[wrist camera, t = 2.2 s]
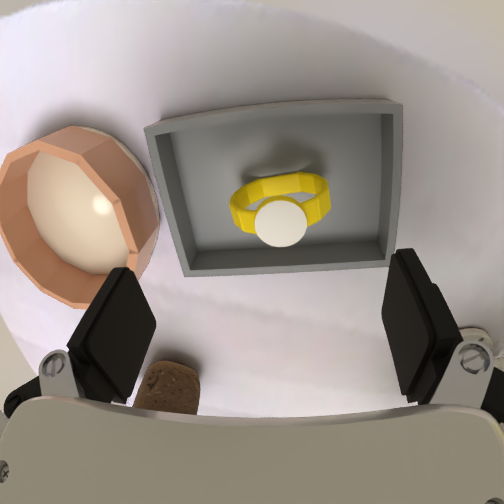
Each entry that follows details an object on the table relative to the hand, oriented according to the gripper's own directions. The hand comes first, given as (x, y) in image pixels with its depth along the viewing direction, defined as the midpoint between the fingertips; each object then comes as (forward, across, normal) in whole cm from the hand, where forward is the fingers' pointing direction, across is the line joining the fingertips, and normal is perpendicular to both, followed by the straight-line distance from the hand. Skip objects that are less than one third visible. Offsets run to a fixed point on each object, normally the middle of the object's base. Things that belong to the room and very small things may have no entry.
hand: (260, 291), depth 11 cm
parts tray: (+12, -1, +1) cm, 12 cm away
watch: (+12, -1, +1) cm, 12 cm away
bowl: (+12, +16, +1) cm, 20 cm away
